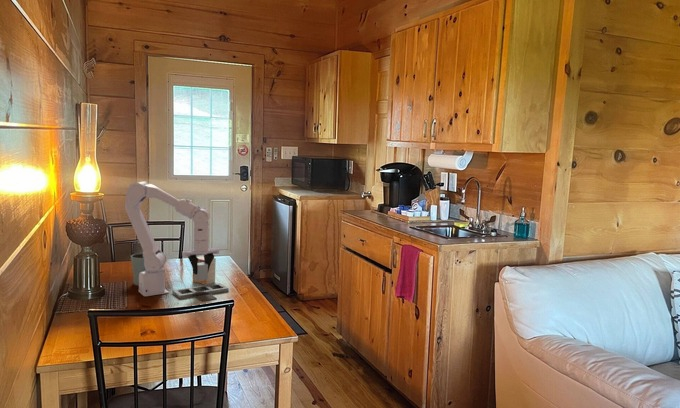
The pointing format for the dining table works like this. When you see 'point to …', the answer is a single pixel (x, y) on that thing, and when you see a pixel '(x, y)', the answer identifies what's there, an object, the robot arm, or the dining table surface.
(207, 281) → the small box
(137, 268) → the green bin
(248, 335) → the dining table surface
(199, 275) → the block
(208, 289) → the grey slotted plate
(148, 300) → the dining table surface
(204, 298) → the pad
